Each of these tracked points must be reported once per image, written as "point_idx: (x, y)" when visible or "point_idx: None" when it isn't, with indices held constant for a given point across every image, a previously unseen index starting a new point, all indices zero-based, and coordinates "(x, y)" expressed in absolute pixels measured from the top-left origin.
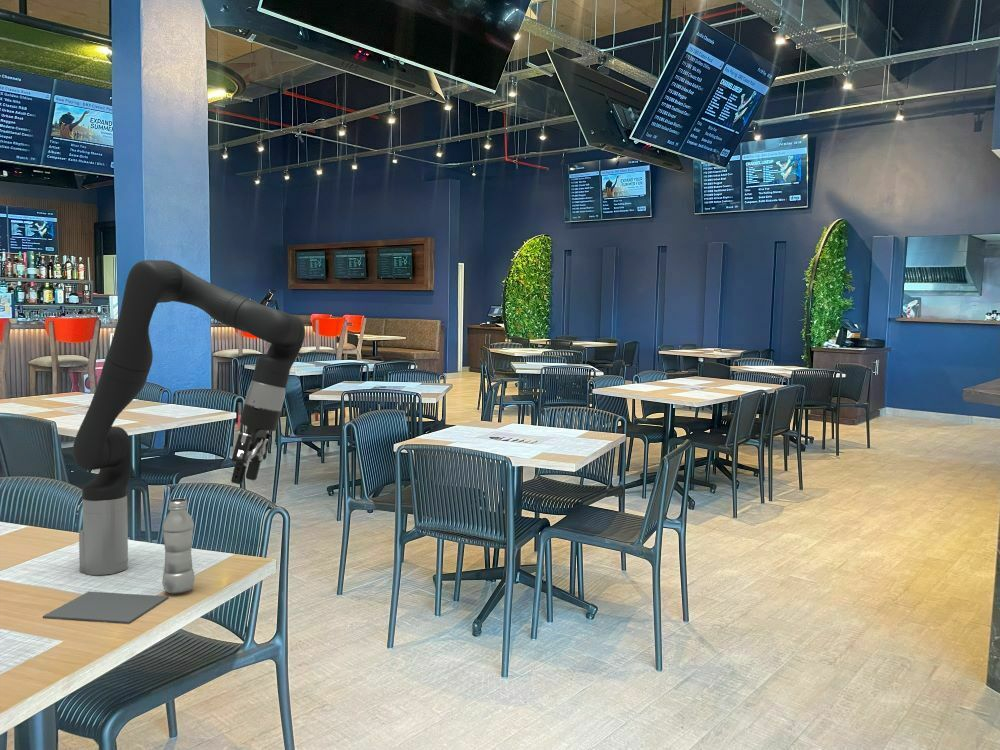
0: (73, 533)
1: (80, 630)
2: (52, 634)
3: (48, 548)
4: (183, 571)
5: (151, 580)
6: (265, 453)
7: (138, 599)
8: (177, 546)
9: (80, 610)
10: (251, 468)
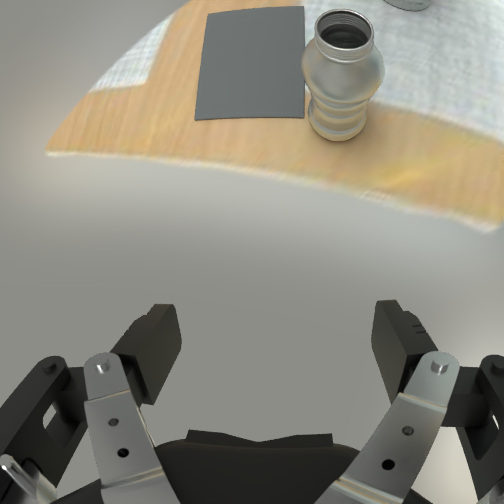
0: None
1: (172, 77)
2: (161, 59)
3: None
4: (320, 123)
5: None
6: (464, 446)
7: (282, 80)
8: (312, 95)
9: (229, 36)
10: (391, 349)
